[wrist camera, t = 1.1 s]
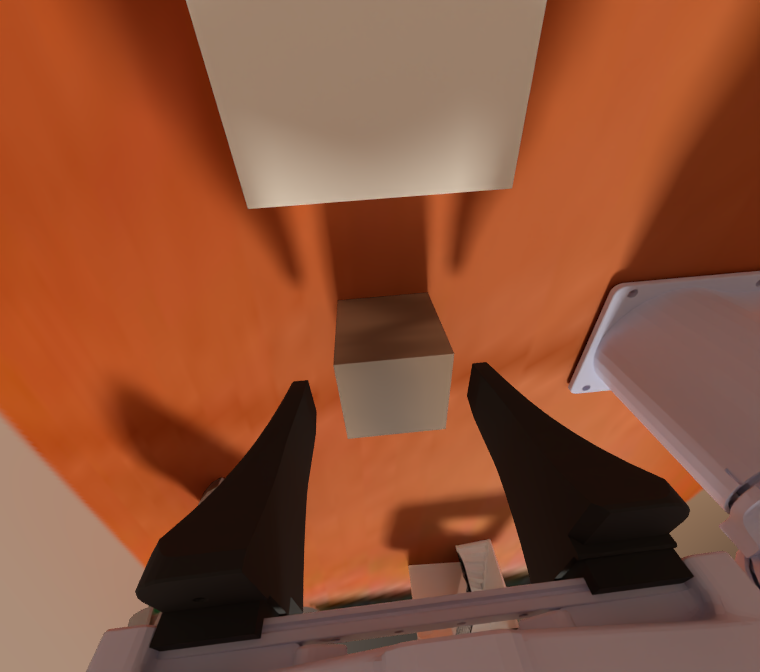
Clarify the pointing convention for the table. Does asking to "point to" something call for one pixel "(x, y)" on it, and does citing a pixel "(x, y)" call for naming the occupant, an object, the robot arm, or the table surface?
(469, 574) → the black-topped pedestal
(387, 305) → the grayish beige block
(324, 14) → the base block
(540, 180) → the table surface
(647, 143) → the table surface
